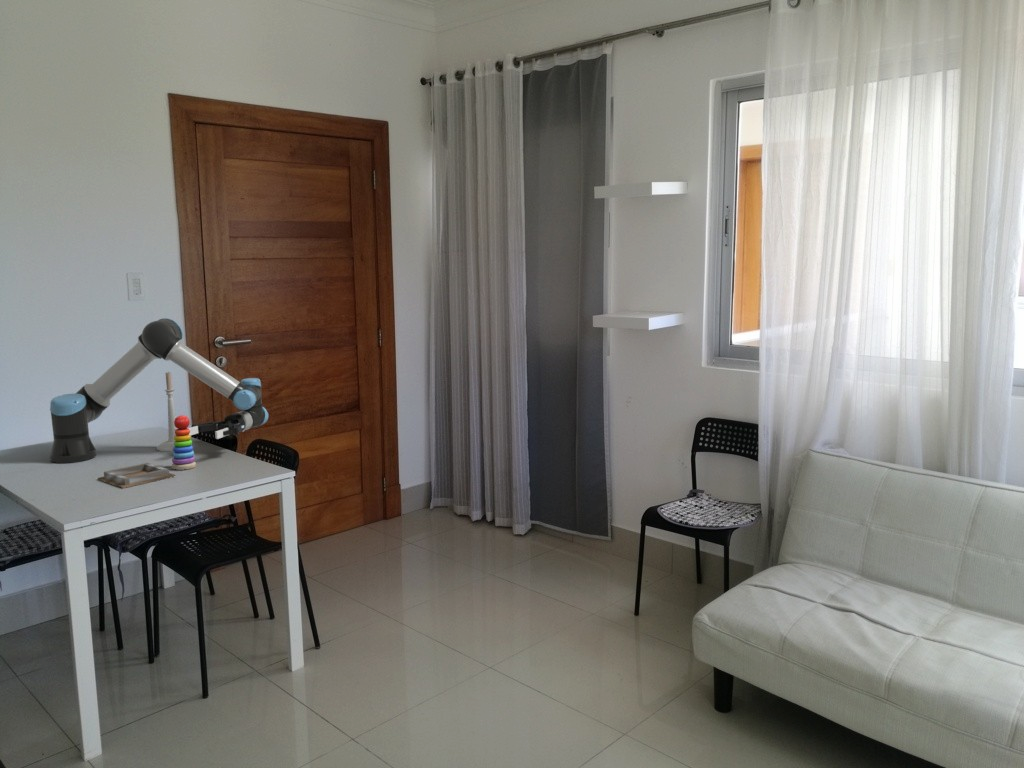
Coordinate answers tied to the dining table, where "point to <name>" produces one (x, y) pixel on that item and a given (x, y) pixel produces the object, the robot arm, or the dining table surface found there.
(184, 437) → the stacking toy
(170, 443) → the candlestick
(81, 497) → the dining table surface
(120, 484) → the plate
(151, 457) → the dining table surface
